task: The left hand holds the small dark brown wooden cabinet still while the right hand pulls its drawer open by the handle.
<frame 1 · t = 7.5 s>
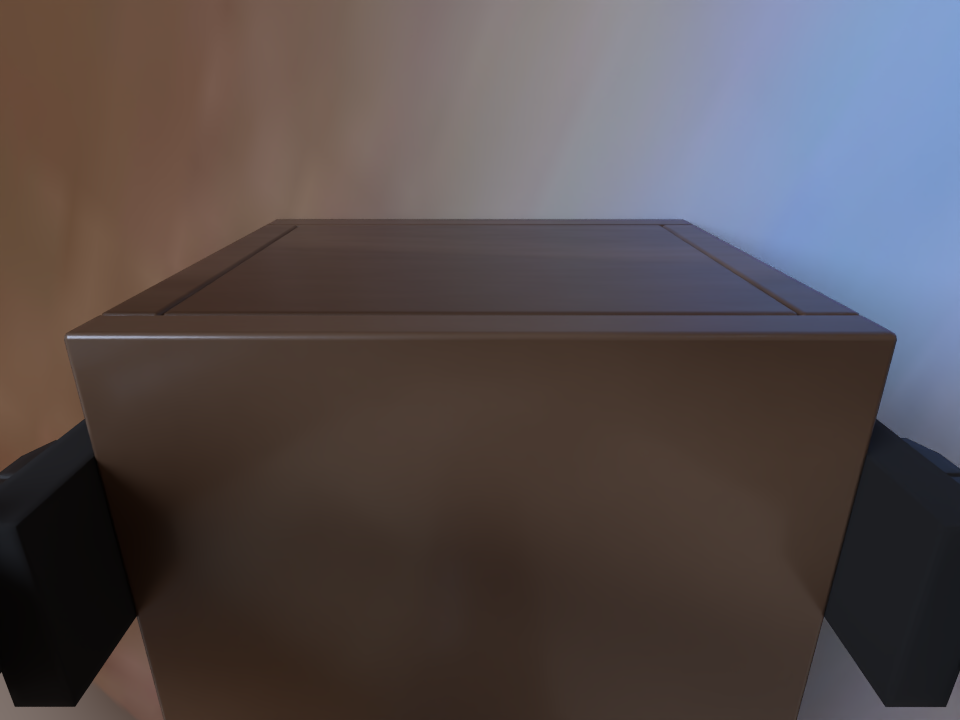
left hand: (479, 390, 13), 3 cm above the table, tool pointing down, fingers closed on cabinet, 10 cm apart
cabinet: (479, 553, 19), on the table, touching left hand
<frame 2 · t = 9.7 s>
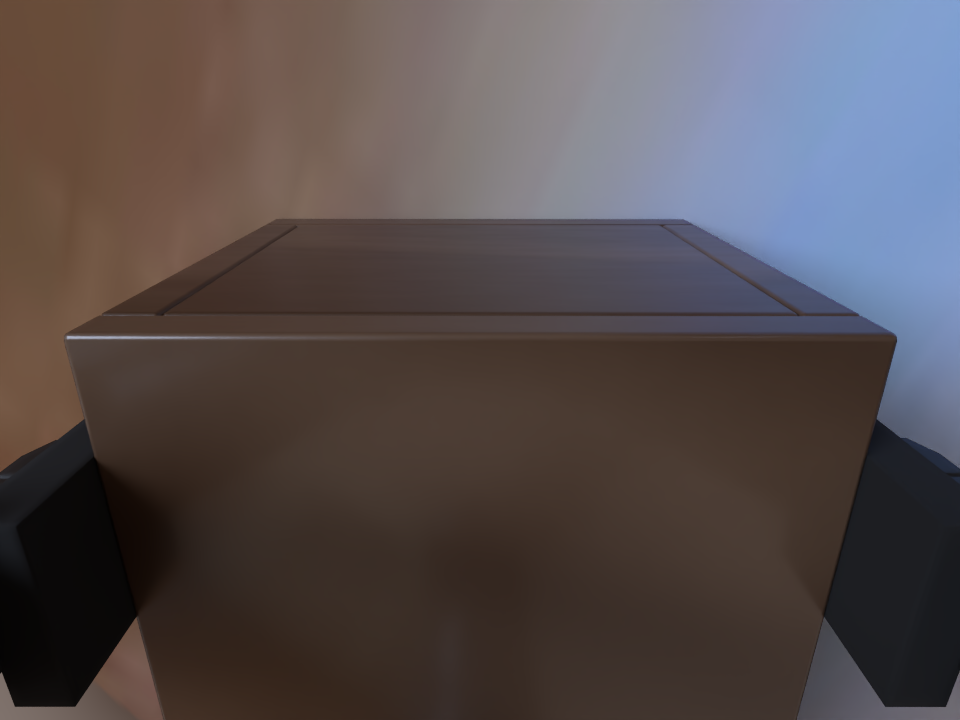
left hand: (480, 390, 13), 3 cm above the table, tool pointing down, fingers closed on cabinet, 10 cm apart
cabinet: (479, 553, 19), on the table, touching left hand
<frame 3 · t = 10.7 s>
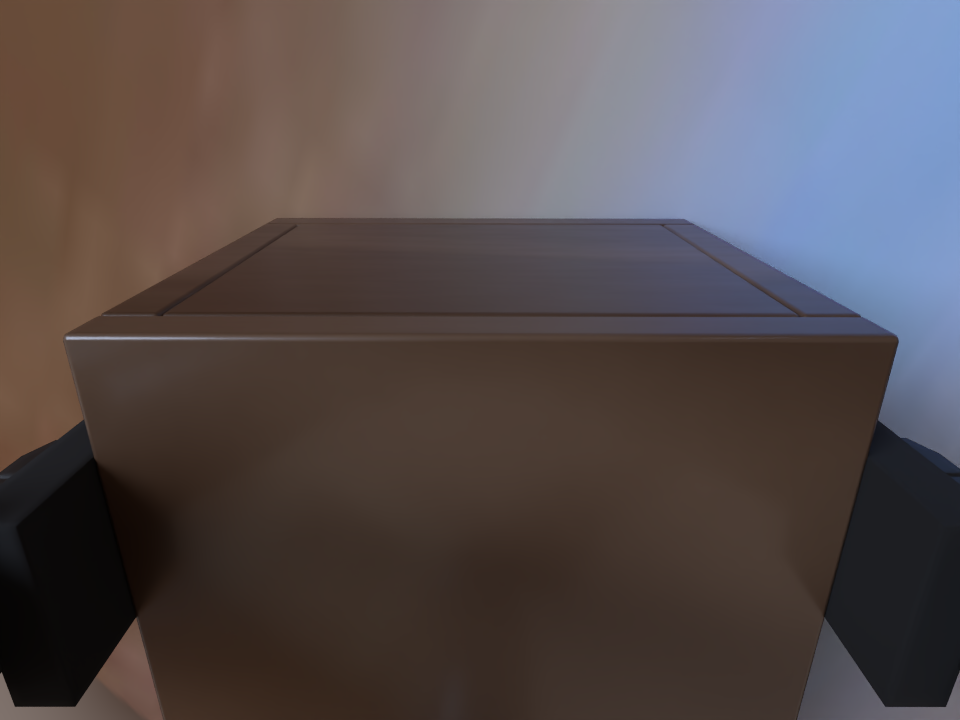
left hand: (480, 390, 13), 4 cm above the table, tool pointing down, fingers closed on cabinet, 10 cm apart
cabinet: (479, 553, 19), on the table, touching left hand
when the left hand's fingers open (3 cm above the table, at t = 12.3 s): cabinet stays where it is, on the table.
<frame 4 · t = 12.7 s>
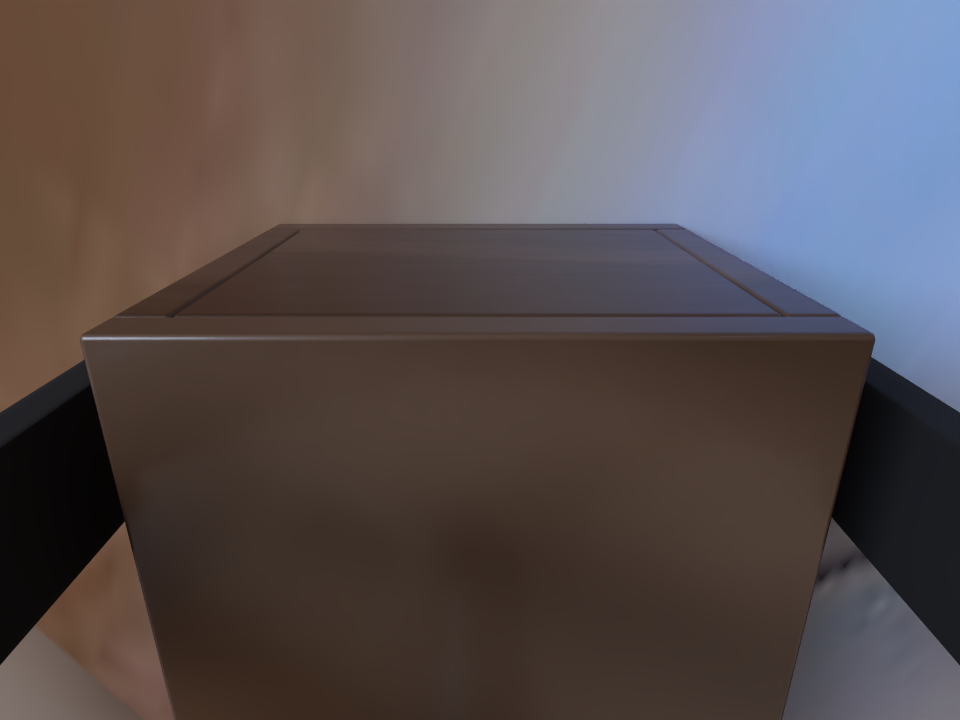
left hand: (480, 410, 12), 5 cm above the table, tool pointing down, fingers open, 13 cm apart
cabinet: (478, 552, 20), on the table
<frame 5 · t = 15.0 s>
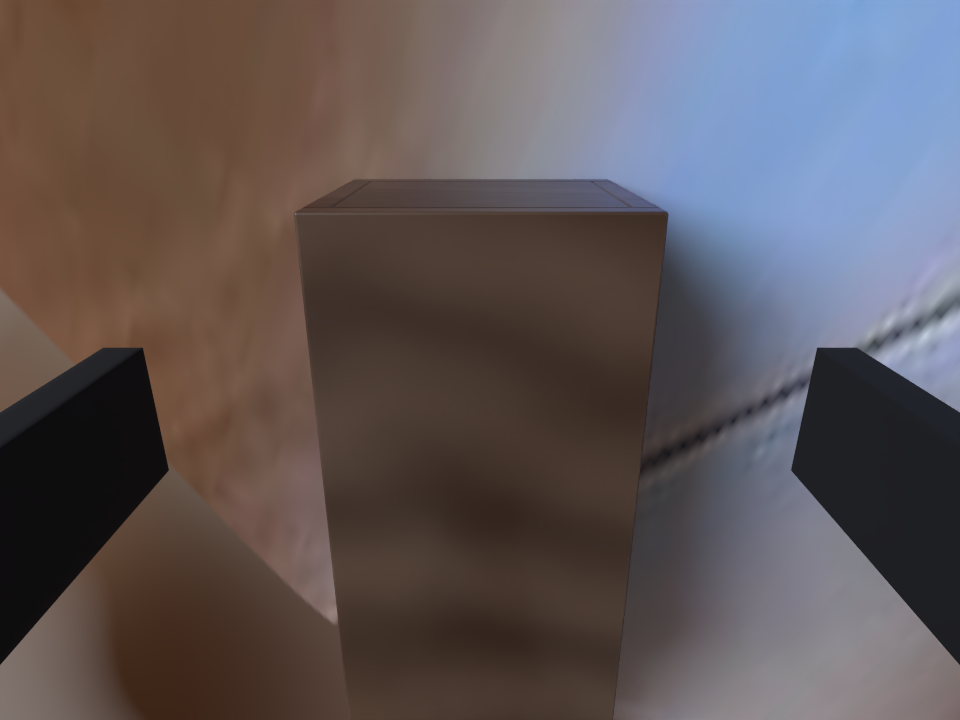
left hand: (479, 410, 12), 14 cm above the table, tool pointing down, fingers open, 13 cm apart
cabinet: (480, 410, 28), on the table
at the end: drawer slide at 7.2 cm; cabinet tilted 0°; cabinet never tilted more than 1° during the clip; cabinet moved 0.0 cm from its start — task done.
